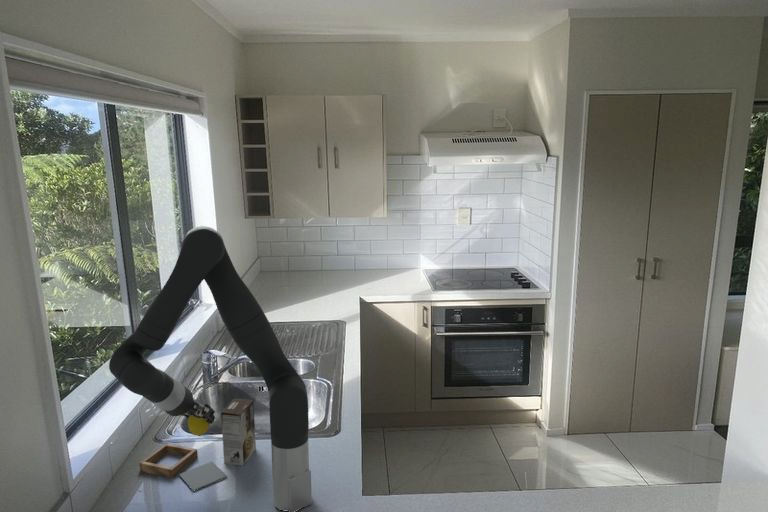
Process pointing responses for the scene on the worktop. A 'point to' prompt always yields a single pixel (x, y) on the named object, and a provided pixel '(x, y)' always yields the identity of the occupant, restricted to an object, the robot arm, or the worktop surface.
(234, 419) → the coffee box
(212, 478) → the mat
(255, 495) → the worktop surface
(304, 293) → the worktop surface
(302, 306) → the worktop surface
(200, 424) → the lemon
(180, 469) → the holder
